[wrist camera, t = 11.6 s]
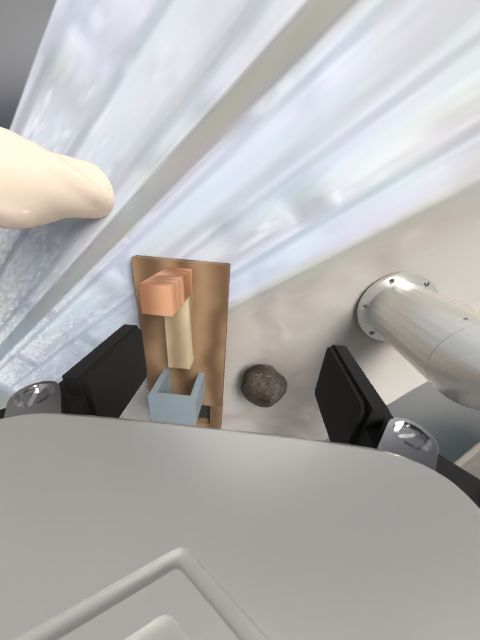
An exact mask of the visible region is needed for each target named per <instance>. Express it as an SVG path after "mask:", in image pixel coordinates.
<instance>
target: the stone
mask: <svg viewBox="0 0 480 640" xmlns="http://www.w3.org/2000/svg"><path fill="white" fill-rule="evenodd" d="M286 390H287V382H286V380H285V378H284V377H283V376H281V375H280V374H279V373H278V372H277V371H276V370H275V369H274V368H273V367H272V366H269V365H262V364H259V365H256V366H254V367H252V368H250V369H249V370H247V371H246V373H245V375H244V377H243V381H242V385H241V391H242V393H243V395H244V396H245V397H246V398H247V400H249V401H250V402H251V403H253V404H255V405H257V406H260V407H270V406H272V405H274V404H275V403H277V402H278V401H279V400H280V399H281V398H282V396H283V395H284V394H285V392H286Z"/></svg>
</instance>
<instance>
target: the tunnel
mask: <svg viewBox="0 0 480 640" xmlns="http://www.w3.org/2000/svg"><path fill="white" fill-rule="evenodd" d="M171 392H172V390H171V378H170V369H164V370H163V371H162V373H161V375H160V376H159V378H158V380H157V381H156V383H155V385H154V386H153V388H152V390H151V391H150V393H149V395H148V396H147V397H148V404H149V411H150V418H151V421H157V422H166V423H175V424H184V425H193V426H196V423H197V420H198V416H199V413H200V409H201V406H202V402H203V399H204V395H205V373H201V372H199V373H198V376H197V379H196V382H195V384H194V387H193V390H192V393H191V395H190V396H188V395H178V394H171Z"/></svg>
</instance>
